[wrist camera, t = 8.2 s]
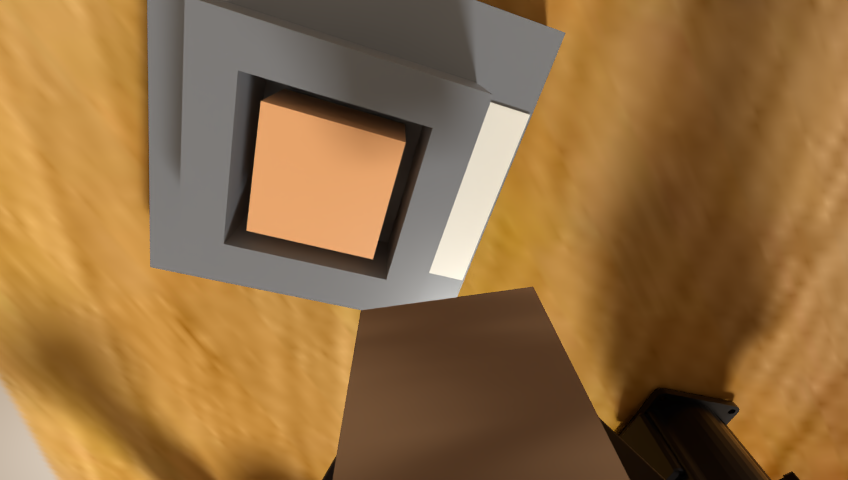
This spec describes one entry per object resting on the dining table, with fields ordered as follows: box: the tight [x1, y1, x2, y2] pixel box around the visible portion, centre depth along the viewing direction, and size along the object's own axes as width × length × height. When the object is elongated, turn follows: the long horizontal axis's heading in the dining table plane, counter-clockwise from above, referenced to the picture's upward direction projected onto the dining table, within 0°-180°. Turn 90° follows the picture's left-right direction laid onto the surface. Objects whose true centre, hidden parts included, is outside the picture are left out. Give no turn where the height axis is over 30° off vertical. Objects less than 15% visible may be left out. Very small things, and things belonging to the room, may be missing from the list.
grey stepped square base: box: [147, 0, 565, 310], centre depth 16 cm, size 14×14×5 cm
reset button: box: [246, 89, 406, 259], centre depth 15 cm, size 5×5×3 cm
